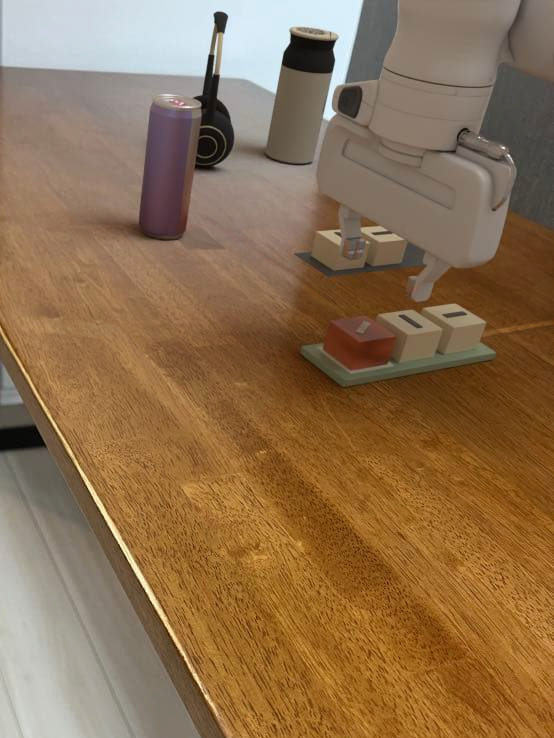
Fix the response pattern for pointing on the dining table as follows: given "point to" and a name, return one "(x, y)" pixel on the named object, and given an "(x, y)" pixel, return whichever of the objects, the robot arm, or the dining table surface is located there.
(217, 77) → the headphones
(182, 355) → the dining table surface
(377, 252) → the board
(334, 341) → the block
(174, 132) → the beverage can
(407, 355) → the word board
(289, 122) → the travel mug
